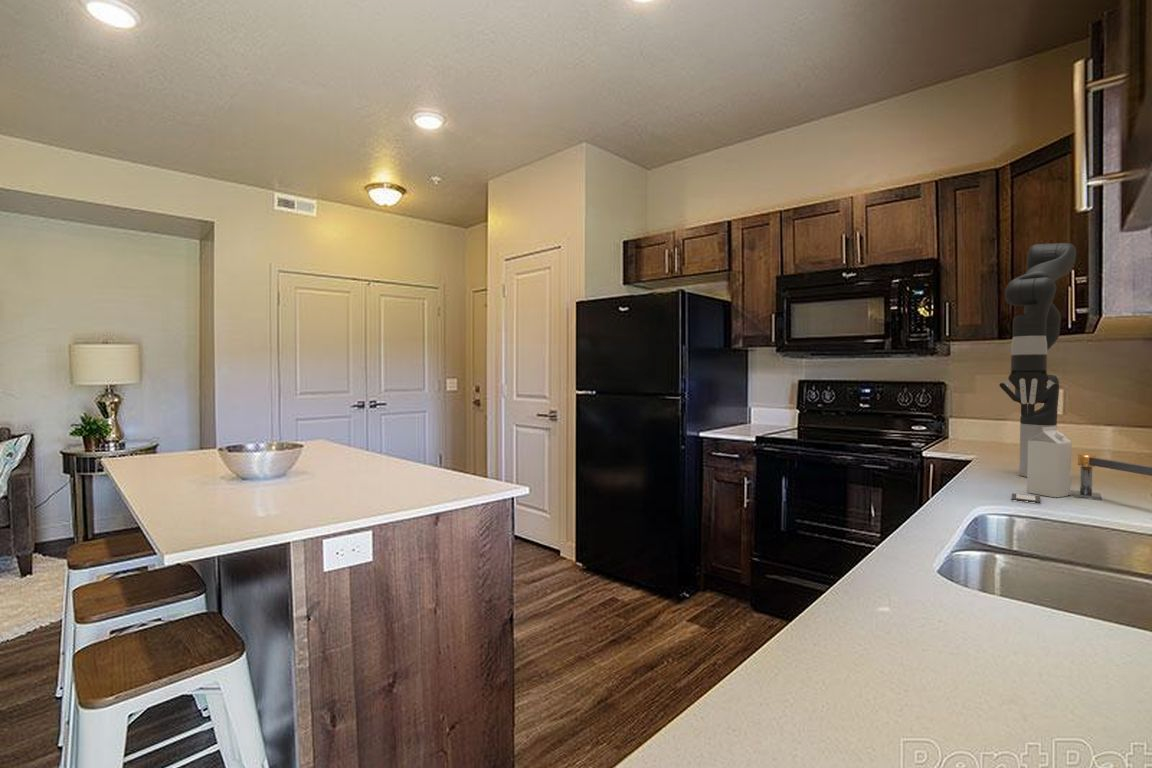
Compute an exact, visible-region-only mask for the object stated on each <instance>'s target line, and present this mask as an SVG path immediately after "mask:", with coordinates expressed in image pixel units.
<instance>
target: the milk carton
mask: <svg viewBox="0 0 1152 768" xmlns="http://www.w3.org/2000/svg"><path fill="white" fill-rule="evenodd" d="M1071 473H1072V441H1071V440H1070V439H1069V438H1067V437H1066V435H1064V433H1062V432H1061V431H1059V430H1058V425H1057V426H1055V427H1043V428H1042V432H1041V433H1039V434H1037V435H1036V436H1034V437H1033V438H1031V439H1030V440H1028V469H1027V477H1026V478H1027V479H1026V493H1027V492H1028V493H1027V494H1032V495H1037V496H1044V497H1045V496H1046V497H1051V498H1056V497H1057V498H1061V497H1067V496H1068V495H1069V496H1071V484H1072V483H1071V481H1072V480H1071V479H1072V475H1071Z"/></svg>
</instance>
